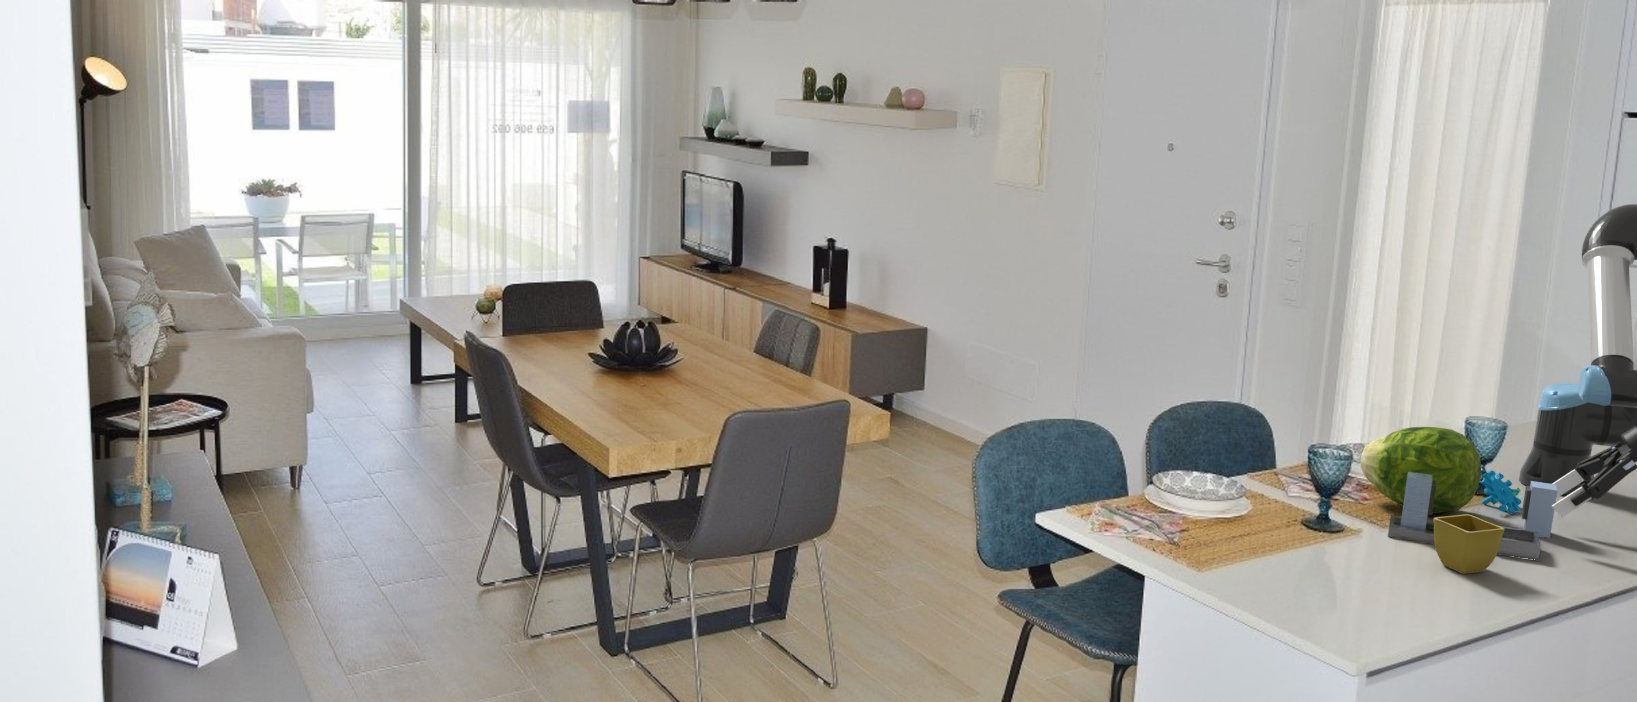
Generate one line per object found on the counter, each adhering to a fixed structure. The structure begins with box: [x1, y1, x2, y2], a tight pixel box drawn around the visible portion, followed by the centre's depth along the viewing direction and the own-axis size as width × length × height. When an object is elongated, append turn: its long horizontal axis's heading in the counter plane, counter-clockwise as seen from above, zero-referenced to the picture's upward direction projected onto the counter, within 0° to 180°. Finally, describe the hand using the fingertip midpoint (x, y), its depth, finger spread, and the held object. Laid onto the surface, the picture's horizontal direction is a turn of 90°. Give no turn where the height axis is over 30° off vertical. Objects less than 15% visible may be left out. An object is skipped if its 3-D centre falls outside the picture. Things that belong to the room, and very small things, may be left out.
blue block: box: [1521, 481, 1557, 539], centre depth 281 cm, size 4×5×10 cm
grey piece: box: [1387, 472, 1542, 561], centre depth 273 cm, size 9×27×12 cm, turn 66°
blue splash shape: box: [1480, 469, 1522, 514], centre depth 298 cm, size 11×6×10 cm
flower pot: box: [1433, 513, 1505, 575], centre depth 259 cm, size 9×9×9 cm
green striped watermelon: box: [1359, 426, 1482, 514], centre depth 293 cm, size 19×23×18 cm
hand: (1553, 502), depth 279 cm, fingers open, 13 cm apart
